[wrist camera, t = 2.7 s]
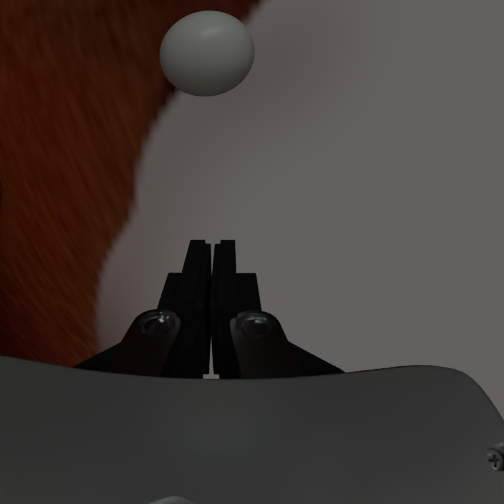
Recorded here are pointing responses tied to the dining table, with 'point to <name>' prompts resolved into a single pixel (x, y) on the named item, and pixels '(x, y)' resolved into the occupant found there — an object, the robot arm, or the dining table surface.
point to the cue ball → (207, 53)
